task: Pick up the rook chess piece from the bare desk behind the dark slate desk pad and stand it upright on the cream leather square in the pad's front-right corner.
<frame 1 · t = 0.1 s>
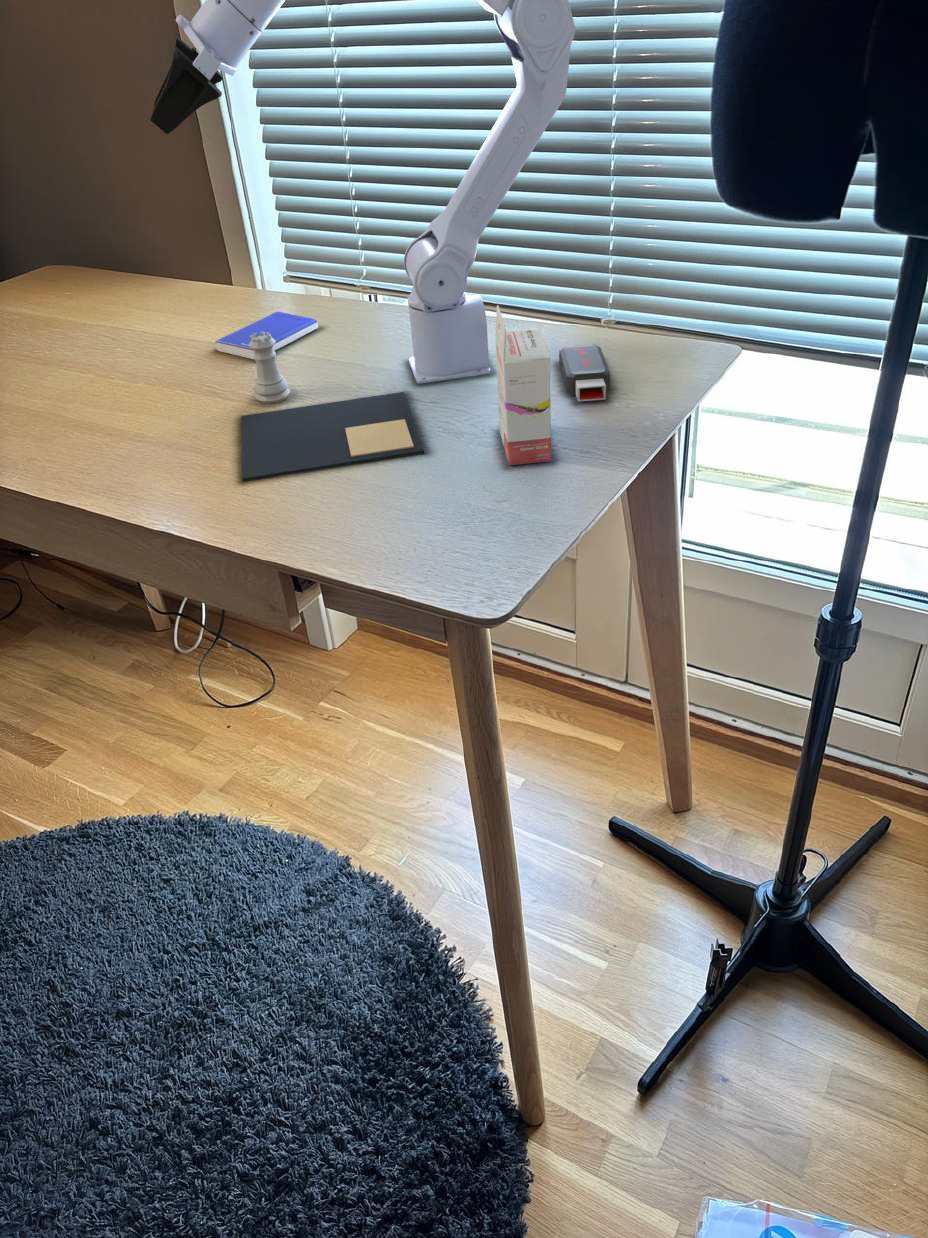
hand: (160, 119, 101), 32 cm above the table, tool tilted 50°, fingers open, 7 cm apart
desk pad: (328, 435, 111), on the table
rook chess piece: (273, 398, 121), on the table
hard drive: (268, 341, 136), on the table
usb drive: (585, 382, 118), on the table
ink cartridge box: (525, 447, 105), on the table
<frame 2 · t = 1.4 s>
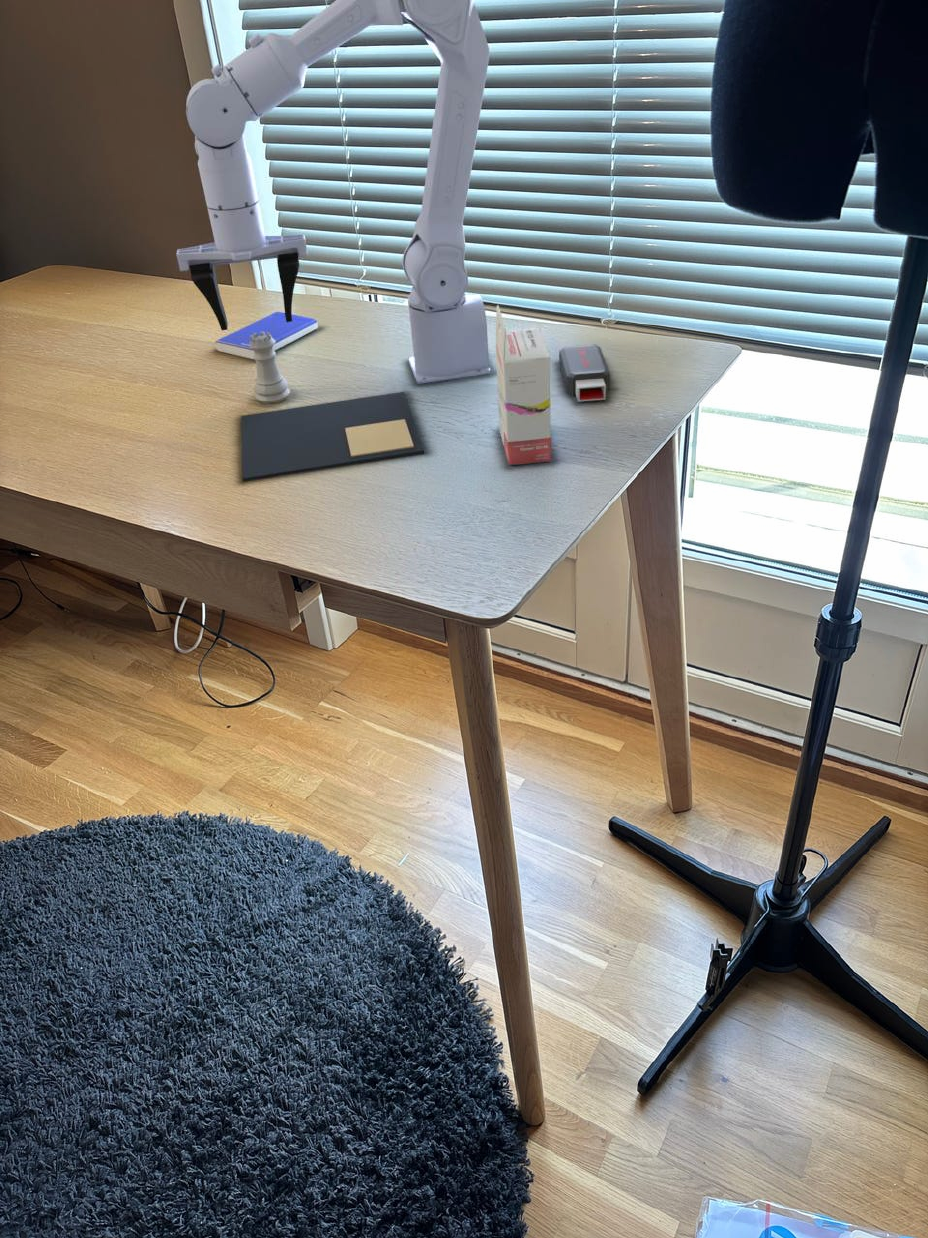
hand: (256, 323, 115), 10 cm above the table, tool pointing down, fingers open, 7 cm apart
nothing on the table moved.
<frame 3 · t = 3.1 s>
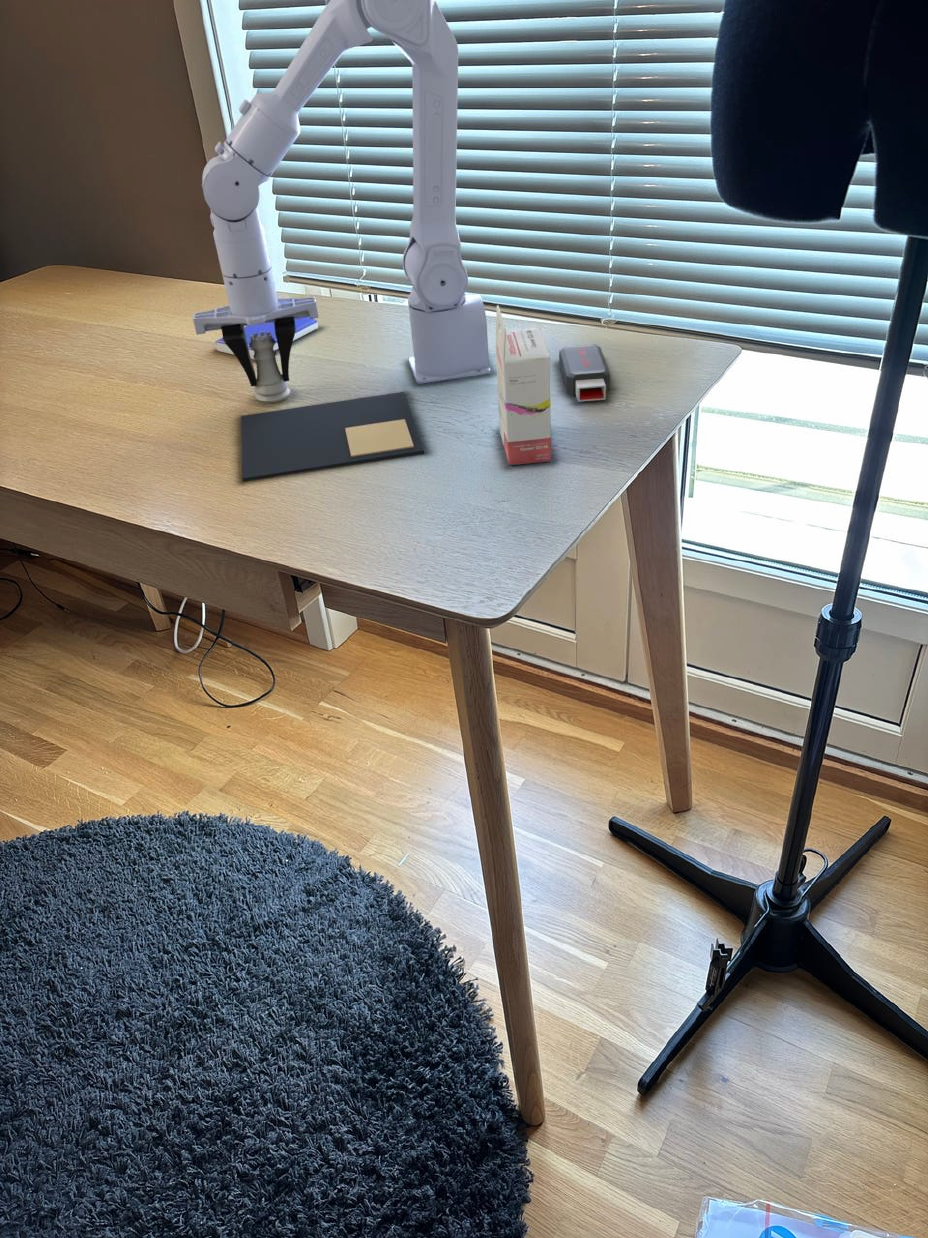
hand: (269, 380, 119), 2 cm above the table, tool pointing down, fingers closed on rook chess piece, 3 cm apart
rook chess piece: (273, 398, 121), on the table, touching gripper
everything else where it was.
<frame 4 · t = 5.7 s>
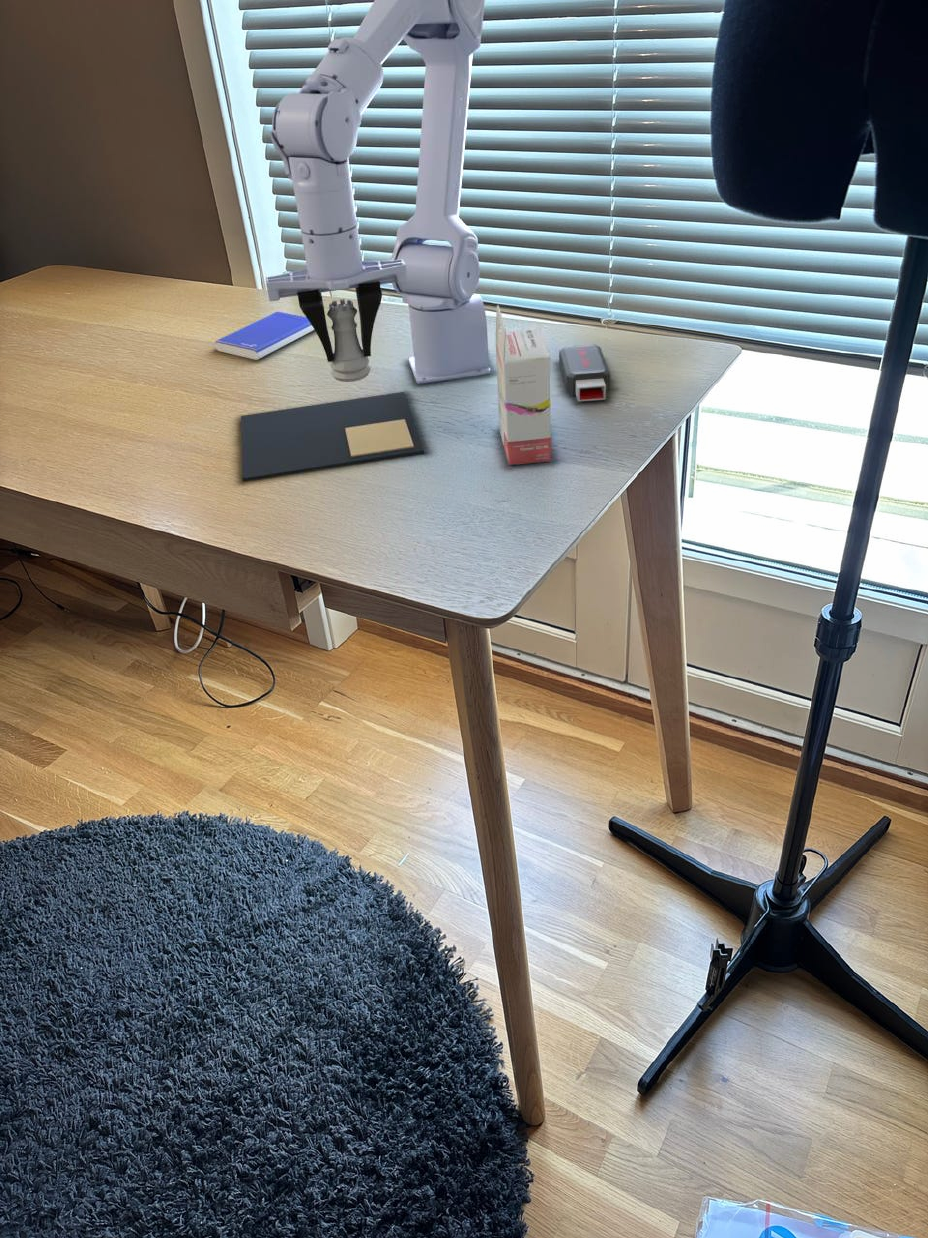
hand: (348, 355, 105), 9 cm above the table, tool pointing down, fingers closed on rook chess piece, 3 cm apart
rook chess piece: (351, 376, 106), point 7 cm above the table, touching gripper
everything else where it was.
when the fingers open (3 cm above the table, at t = 8.3 s): rook chess piece stays where it is, resting on desk pad.
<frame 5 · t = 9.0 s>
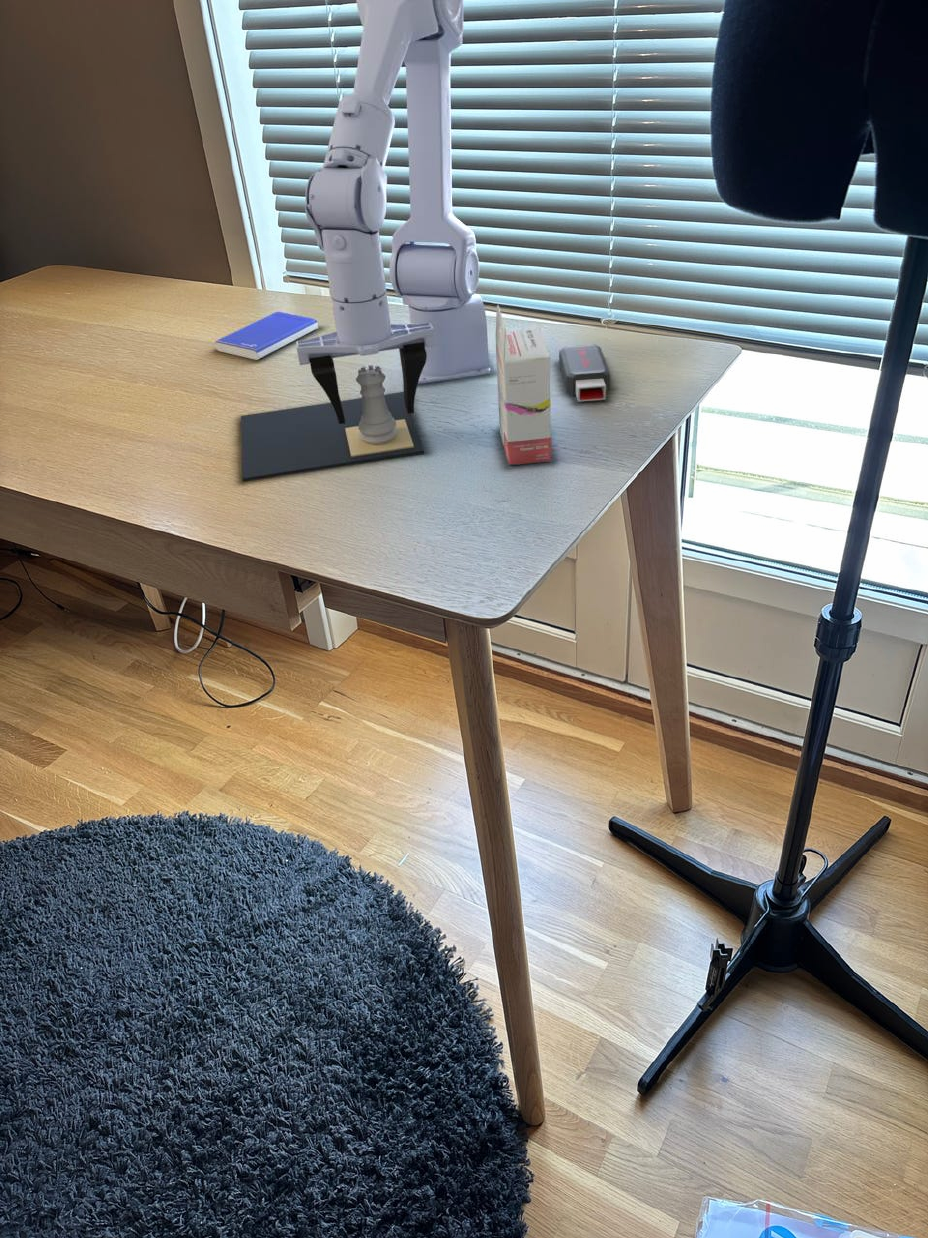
hand: (375, 414, 107), 3 cm above the table, tool pointing down, fingers open, 7 cm apart
rook chess piece: (379, 438, 109), resting on desk pad
everything else where it was.
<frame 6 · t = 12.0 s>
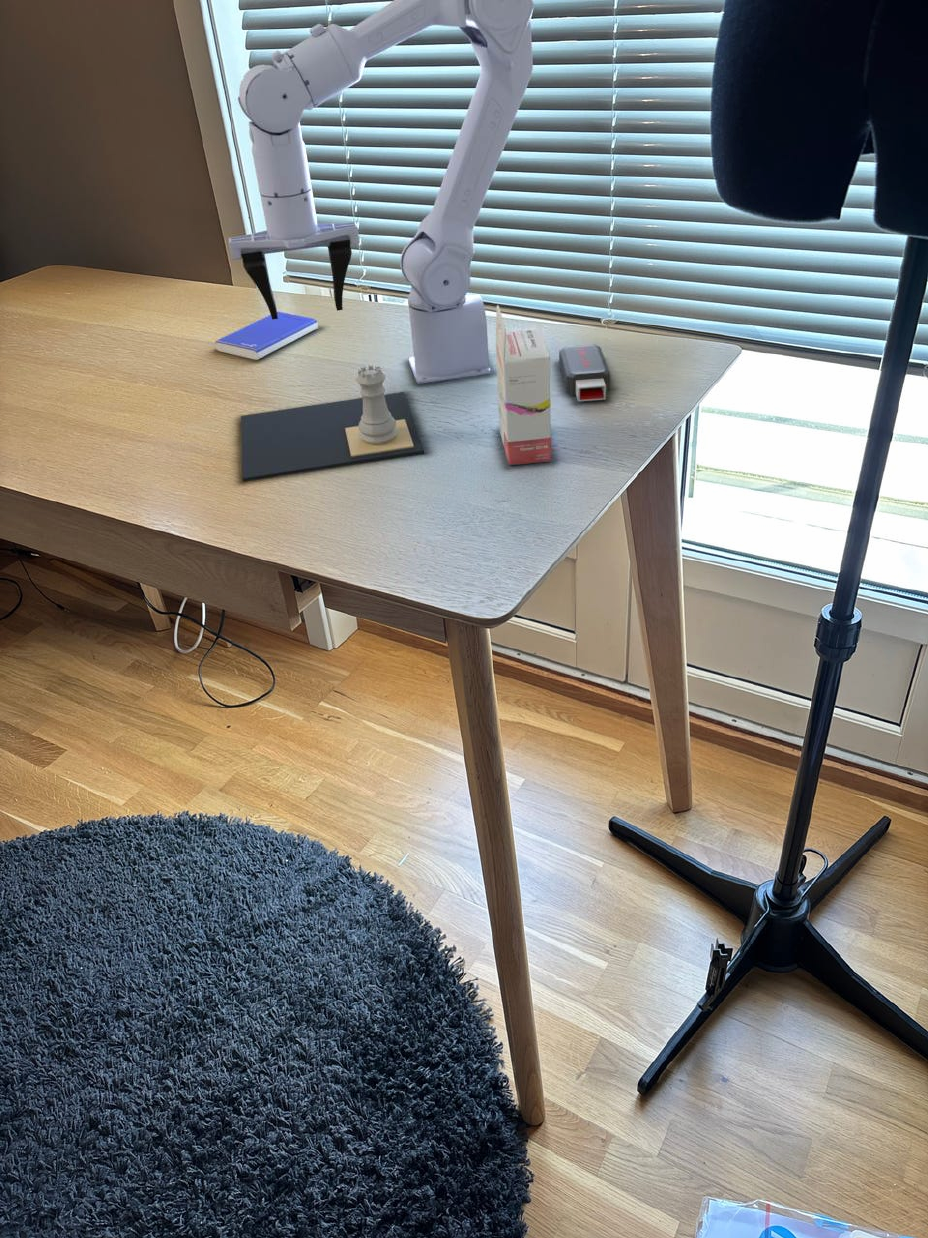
hand: (307, 311, 114), 10 cm above the table, tool pointing down, fingers open, 7 cm apart
nothing on the table moved.
at the end: rook chess piece 0.0 cm from the target spot, resting on desk pad; rook chess piece tilted 0°; the gripper is holding nothing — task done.
